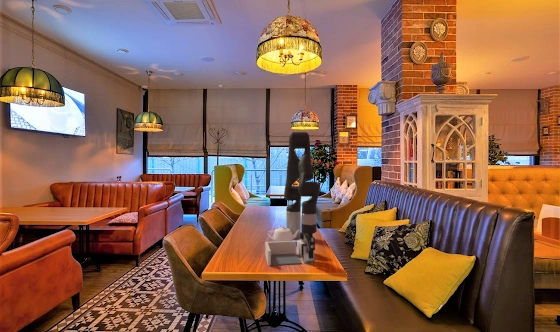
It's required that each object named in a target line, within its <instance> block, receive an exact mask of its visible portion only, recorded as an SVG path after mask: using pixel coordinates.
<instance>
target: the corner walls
mask: <svg viewBox="0 0 560 332" xmlns="http://www.w3.org/2000/svg"><path fill="white" fill-rule="evenodd" d="M264 245H265V247H264V251H265V252H264V253H265V254H264V256H265V260H266V263H267V266H268V267H269V266H270V265H271V255H273V254H296V255H297V241H296V240H292V241H281V242H274V241H265V243H264ZM271 266H272V265H271Z"/></svg>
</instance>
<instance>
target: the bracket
mask: <svg viewBox="0 0 560 332" xmlns="http://www.w3.org/2000/svg"><path fill="white" fill-rule="evenodd" d="M311 248H312V246H311ZM300 259H301V262H303V264H305V265H306V264H315V250H313V258H309V250H308V246H304V256H300Z"/></svg>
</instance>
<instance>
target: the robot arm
mask: <svg viewBox="0 0 560 332" xmlns="http://www.w3.org/2000/svg"><path fill="white" fill-rule="evenodd" d="M310 139H311V138H310V135H309V133H308V132H307V131H292V132H290V133H289V137H288V157H287V165H286V178H285V185H284V192H283V195H284V197H283V198H284V200H286V201H294V202H293V203H292V204H290V205H287V206H286V208H285V209H286V212H285V213H286V219H285V220H286V223H285V224H286V227H285V228H288V229H290V230H291V232H292V235H294V234H295V233H296V231H297V230H300V231H299V232H298V233H297V236H296V237H295V238H294V239H293V240H300V233H301V232H303V242H304V245H305V246H308V250H309V258H313V250H314V251H316V238H315V237H314V234H315V233H317V230H318V229H317V228H318V227H317V225H318V222H317V221H318V217H317V216H318V215H317V204H318V199H319V195H320V191H321V186H320V184H319V182H317V181H312V179H314V171H313V166H312V152H311V140H310ZM300 149H301V150H302V149H303V150H304V151H303V154H302V156H301V158H300V157H299V156H298V155H297V153H296V150H300ZM298 180H299V181H298ZM297 181H298V182H299V183H298V185H294V183H296V182H297ZM302 197H310V198H309V199H307V200H304V201H302ZM311 246H312V248H311Z"/></svg>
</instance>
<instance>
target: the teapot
mask: <svg viewBox="0 0 560 332" xmlns="http://www.w3.org/2000/svg"><path fill="white" fill-rule="evenodd" d="M299 231H300V230H297V231H296V233H295V234H294V235H292V232H291V230H290V229H288V228H286V227H285V225H281V226H280V227H279V228H278V227H277V228H276V229H275V230H268V231H267V233H266V235H267V237H269V239H271V240H273V242H281V241H294V240H295V239H294V238H295V237H296V236H297V233H298V232H299ZM270 233H272V234H273V235H272V236H271V235H270Z"/></svg>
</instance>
